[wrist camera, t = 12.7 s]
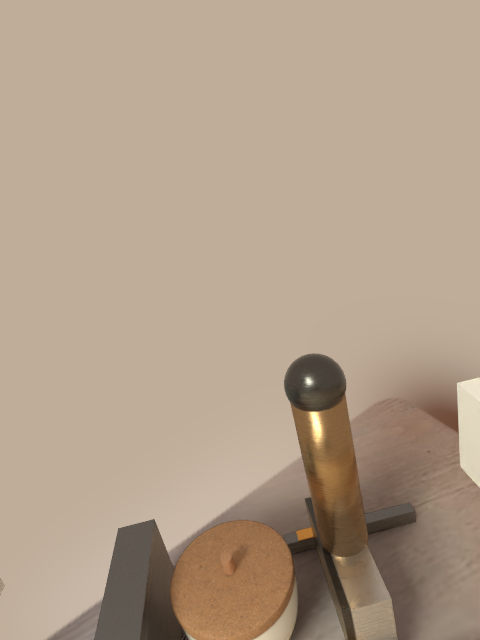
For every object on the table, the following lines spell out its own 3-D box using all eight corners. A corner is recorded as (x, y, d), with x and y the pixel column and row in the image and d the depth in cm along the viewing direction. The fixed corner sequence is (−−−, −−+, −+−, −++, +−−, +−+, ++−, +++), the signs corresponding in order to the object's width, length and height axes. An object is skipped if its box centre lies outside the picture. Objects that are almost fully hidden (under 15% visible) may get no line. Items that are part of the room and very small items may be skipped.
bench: (131, 771, 31) (83, 690, 27) (152, 580, 45) (122, 510, 42) (509, 670, 31) (509, 577, 28) (410, 512, 46) (402, 438, 42)
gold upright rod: (355, 680, 33) (299, 410, 24) (315, 550, 44) (266, 333, 35) (410, 666, 33) (373, 391, 24) (355, 539, 44) (316, 321, 35)
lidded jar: (225, 564, 45) (203, 497, 42) (322, 590, 40) (306, 517, 37) (171, 673, 36) (137, 600, 33) (285, 724, 31) (259, 644, 28)
